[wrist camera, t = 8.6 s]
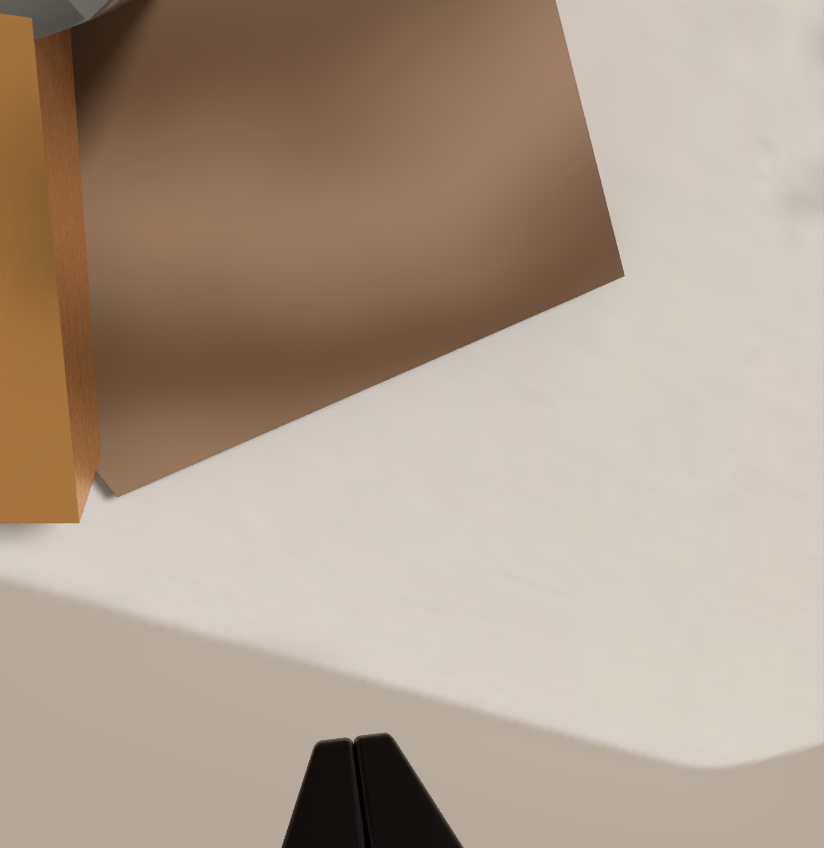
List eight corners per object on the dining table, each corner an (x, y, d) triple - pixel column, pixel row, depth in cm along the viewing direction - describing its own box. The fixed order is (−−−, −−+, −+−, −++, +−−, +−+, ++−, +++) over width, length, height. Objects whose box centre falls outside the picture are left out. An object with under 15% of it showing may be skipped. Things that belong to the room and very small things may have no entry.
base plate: (-581, -433, 11) (-657, -469, 10) (301, -918, 10) (305, -1003, 9) (122, 475, 21) (116, 499, 20) (609, 262, 20) (626, 277, 19)
